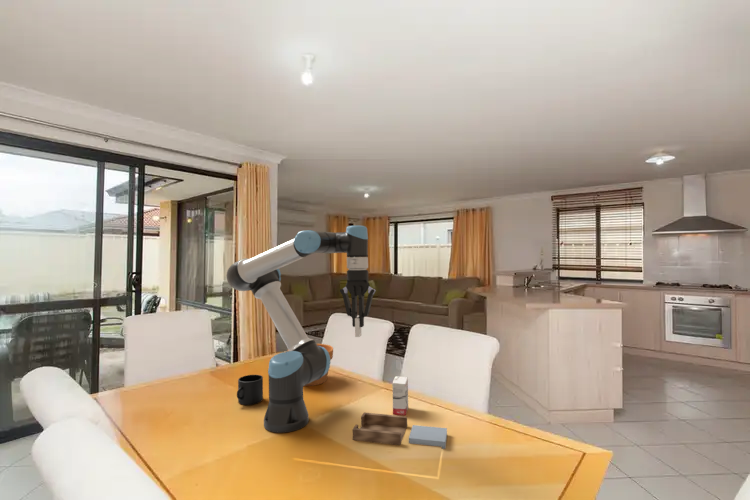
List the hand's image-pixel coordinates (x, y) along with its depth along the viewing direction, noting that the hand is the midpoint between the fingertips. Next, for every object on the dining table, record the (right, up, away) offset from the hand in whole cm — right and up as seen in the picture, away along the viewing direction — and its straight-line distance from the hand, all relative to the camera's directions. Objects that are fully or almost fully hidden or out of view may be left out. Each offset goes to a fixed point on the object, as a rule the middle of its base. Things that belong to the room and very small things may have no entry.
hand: (358, 336), depth 133 cm
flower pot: (-24, -31, +42) cm, 57 cm away
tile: (+23, -29, -15) cm, 40 cm away
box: (+8, -29, -12) cm, 32 cm away
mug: (-45, -30, +17) cm, 57 cm away
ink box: (+15, -30, +6) cm, 34 cm away
